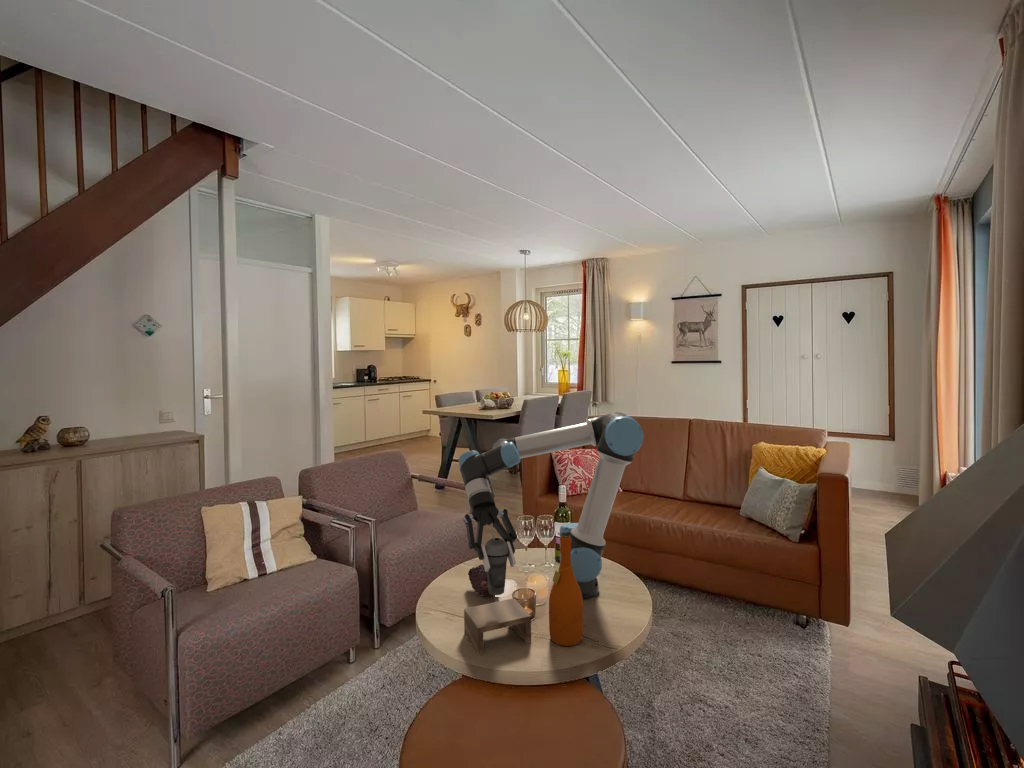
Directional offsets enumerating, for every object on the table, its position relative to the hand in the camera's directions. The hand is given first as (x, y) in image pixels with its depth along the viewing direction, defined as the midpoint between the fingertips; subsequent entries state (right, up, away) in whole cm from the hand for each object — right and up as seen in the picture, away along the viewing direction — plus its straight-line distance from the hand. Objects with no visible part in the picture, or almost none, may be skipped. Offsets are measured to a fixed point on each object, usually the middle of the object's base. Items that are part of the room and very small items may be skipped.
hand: (500, 567), depth 144 cm
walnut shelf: (-1, -22, +4) cm, 22 cm away
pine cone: (-6, -21, +32) cm, 39 cm away
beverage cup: (-1, -9, +4) cm, 9 cm away
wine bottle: (+19, -22, +3) cm, 29 cm away
